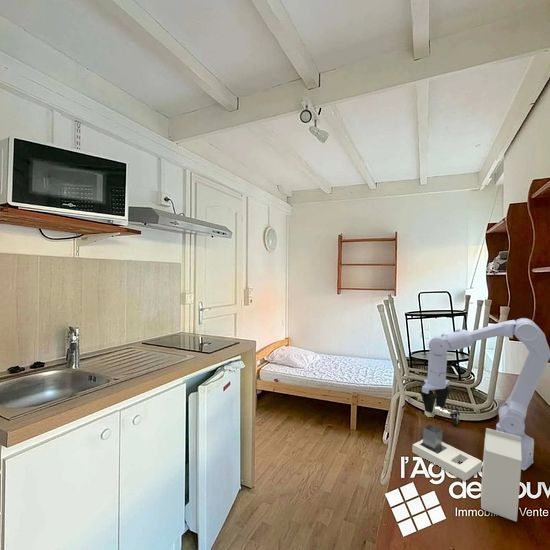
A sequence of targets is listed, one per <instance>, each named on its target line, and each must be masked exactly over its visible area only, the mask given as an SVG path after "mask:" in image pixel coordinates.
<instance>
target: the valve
mask: <svg viewBox="0 0 550 550" xmlns="http://www.w3.org/2000/svg"><path fill="white" fill-rule="evenodd" d="M424 409H425V406H424ZM460 410H461V408H460V407H458V406H456V407H455V410H453V411H450V412H449V411H448V410H447V409H442V407H439V406H437V403H436V400H435V402H434V407H433V411H432V413H429V412H427V411H425V410H424V416H425V415H426V416H427V418H429V417H434V416H435V417H436V415H438V416H439V415H442V414H443V415H444V416H450V418H451V420H452V421H453V425H456V426H458V425H457V424H459V421H460V416H461V415H460V414H461V411H460ZM426 416H425V417H426Z"/></svg>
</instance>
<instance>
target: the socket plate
mask: <svg viewBox="0 0 550 550" xmlns="http://www.w3.org/2000/svg"><path fill="white" fill-rule="evenodd" d="M422 445H423V438H422V439H420V440H419V441H417V442H415V443H412V447H411V448H412V453H413V454H415V455H416V456H418V457H420V458H422V459H424V460H425V459H426V460H425V461H427V460H428V461H427V462H429V461H430V462H429V463H431V462H433V463H435V464H436V465H438V466H439V467H438V466H437V467H438V468H440V467H441V468H440V469H442V468H443V469H442V470H444V469H445V470H444V471H446V470H447V471H448V473H449V472H450V475H453V476H455V477H456V478H459V479H460V480H462V481H463V482H467V481H468V480H469V479H471V478H472V477H473V476H475V475H476V474H478V472H480V471H481V470H482V468H483V460H480V459H479V458H476V457H474V456H472V455H470V454H468V453H467V452H464V451H462V450H460V449H458V448H455V447H454V446H452V445H450V444H448V443H445V442H444V441H442V448H441V452H440V453H438V454H437V453H435V452H433V451H431V450H429V449H427V448H425V447H423V446H422ZM459 461H460V462H459ZM458 462H459V463H460V464H459V463H458ZM461 462H463V463H461ZM433 463H432V464H433ZM456 463H457V464H456ZM435 464H434V465H435ZM436 465H435V466H436ZM480 469H481V470H480ZM479 470H480V471H479ZM447 471H446V472H447ZM466 480H467V481H466Z"/></svg>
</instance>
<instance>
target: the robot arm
mask: <svg viewBox="0 0 550 550" xmlns="http://www.w3.org/2000/svg"><path fill="white" fill-rule="evenodd" d="M500 336H502V337H505V338H509V339H513V338H514V336H515V338H517V340H519V342H520V343H522V344H523V345H524V346H525V348H526V349H527V351H528V354H527V357H526V359H525V361H524V363H523V366H522V368H521V370H520V373H519V374H518V377H517V380H516V381H515V384H514V386H513V388H512V390H511V393H510V396H508V398H507V399H506V400H505V403H503V404H502V405H500V406H499V408H498V409H497V413H498V415H499V417H498V418H499V420H498V422H497V423H496V426H495V430H496V431H500V432H504V433H508V434H511V435H515V436H519V437H521V455H522V462H521V471H526V470H527V469H528V468H529V467H531V465H532V464H534V453H535V452H534V450H535V439H534V438H533V437H530V436H529V435H527V434H526V433H525V429H526V425H525V419H526V417H527V411H528V406H529V404H530V402H531V400H532V398H533V396H534V393H535V391H536V389H537V387H538V385H539V383H540V380H541V379H542V375H543V374H544V371H545V369H546V367H547V365H548V363H549V360H550V347H549V344H548V341H547V338H546V334H545V332H543V330H542V329H541V328H540V327H539V325H537V324H536V323H535V322H534V321H533V320H532V319H530V318H526V317H521V318H518V319H516V320H515V319H512V320H511V319H510V320H506V321H505V320H504V321H501V322H498V323H494V324H491V325H488V326H485V327H482V328H481V327H480V328H478V329H475V330H471V331H468V330H467V329H461V328H456V329H455V330H454V331H452V332H448V333H444V332H443V333H441V334H440V335H435V336H434V337H432V338H431V339H430V341H429V342H428V349H429V356H428V360H427V361H428V362H427V364H428V365H427V377H426V379H424V380H423V382H424V384H423V385H422V387H421V388H420V389H419V394H420V396H421V398H422V401H423V405H424V406H425V408H424V412H425V411H427V412H429V413H432V411H433V407H434V402H435V401H436V407H438V406H439V407H441V409H442V408H444V407H445V404H446V401H447V399H448V396H449V395H450V393H451V392H452V390H453V389H452V388H451V387H450V380H449V379H447V369H448V368H447V366H448V365H447V363H448V359H447V355H448V354H447V353H448V352H449V351H450V352H451V351H456V350H461V349H464V348H469V347H472V345H473V344H474V342H477V341H481V340H485V339H489V338H490V339H491V338H496V337H500ZM433 391H434V392H435V393H434V392H433Z"/></svg>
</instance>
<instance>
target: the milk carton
mask: <svg viewBox="0 0 550 550" xmlns="http://www.w3.org/2000/svg"><path fill="white" fill-rule="evenodd" d="M483 445H484V446H483V454H482V455H483V457H482V468H481V471H482V473H481V485H480V486H481V487H480V508H481V509H482V510H483V511H487V512H489V513H491V514H495V515H497V516H499V517H503V518H504V519H507V520H510V521H513V522H516V523H517V521H518V510H519V499H520V486H521V474H522V473H521V472H522V469H521V462H522V455H521V437H519V436H515V435H511V434H508V433H504V432H500V431H496V429H491V428H488V427H485V435H484V444H483Z"/></svg>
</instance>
